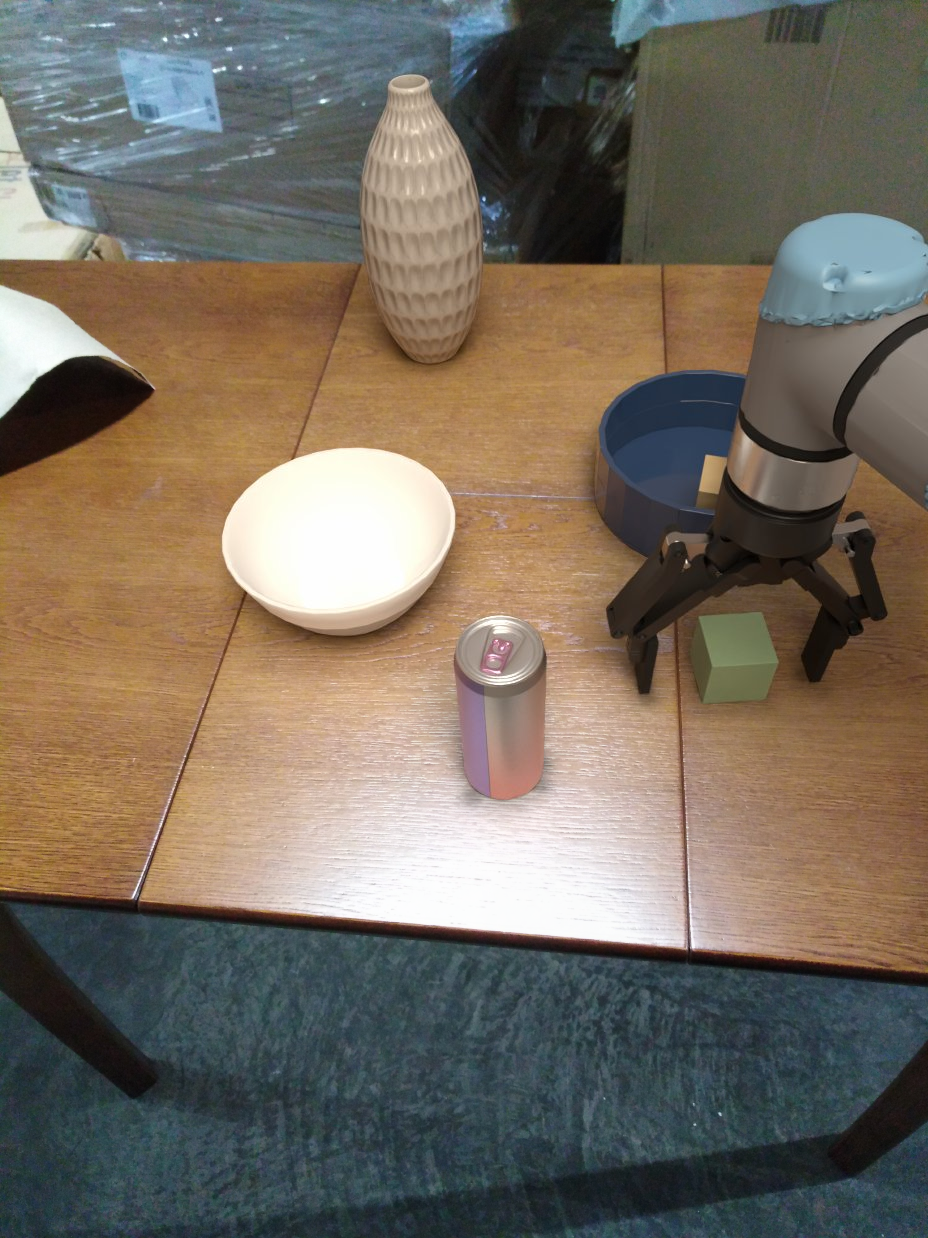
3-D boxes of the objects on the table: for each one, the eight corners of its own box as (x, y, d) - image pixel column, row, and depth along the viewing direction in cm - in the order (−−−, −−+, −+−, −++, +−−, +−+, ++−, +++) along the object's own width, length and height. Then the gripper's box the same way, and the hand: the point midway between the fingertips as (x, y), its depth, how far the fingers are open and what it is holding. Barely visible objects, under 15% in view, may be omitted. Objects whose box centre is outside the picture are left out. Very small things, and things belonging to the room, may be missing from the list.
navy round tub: (816, 444, 90) (835, 385, 84) (801, 590, 78) (822, 533, 72) (616, 414, 94) (622, 357, 89) (573, 548, 82) (577, 491, 77)
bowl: (252, 524, 86) (230, 458, 80) (452, 504, 87) (446, 436, 80) (237, 688, 74) (210, 626, 68) (471, 664, 74) (466, 599, 68)
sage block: (749, 650, 74) (761, 611, 70) (765, 700, 71) (779, 662, 67) (689, 654, 74) (698, 615, 70) (702, 704, 71) (712, 666, 67)
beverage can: (452, 789, 67) (437, 671, 55) (481, 726, 70) (472, 602, 59) (528, 814, 65) (529, 698, 54) (553, 748, 69) (559, 625, 57)
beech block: (751, 503, 84) (762, 462, 80) (746, 540, 81) (757, 499, 77) (697, 495, 85) (705, 454, 81) (690, 531, 82) (698, 490, 78)
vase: (408, 395, 98) (376, 122, 76) (359, 340, 105) (317, 76, 84) (507, 358, 102) (503, 86, 80) (453, 306, 109) (436, 45, 87)
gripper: (963, 423, 58) (865, 627, 74) (578, 449, 58) (566, 647, 75) (1013, 503, 53) (897, 702, 70) (594, 531, 53) (577, 723, 70)
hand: (725, 674), depth 72 cm, fingers open, 13 cm apart
